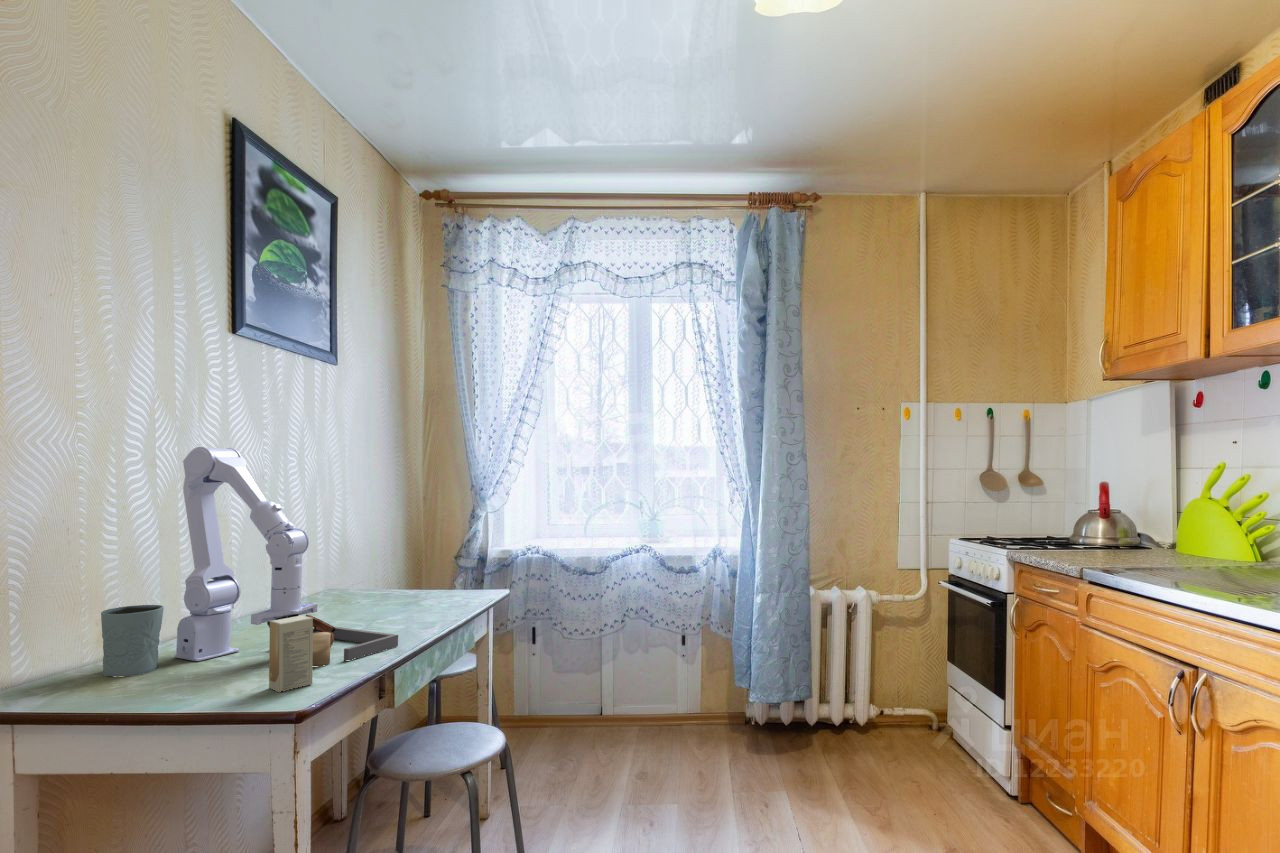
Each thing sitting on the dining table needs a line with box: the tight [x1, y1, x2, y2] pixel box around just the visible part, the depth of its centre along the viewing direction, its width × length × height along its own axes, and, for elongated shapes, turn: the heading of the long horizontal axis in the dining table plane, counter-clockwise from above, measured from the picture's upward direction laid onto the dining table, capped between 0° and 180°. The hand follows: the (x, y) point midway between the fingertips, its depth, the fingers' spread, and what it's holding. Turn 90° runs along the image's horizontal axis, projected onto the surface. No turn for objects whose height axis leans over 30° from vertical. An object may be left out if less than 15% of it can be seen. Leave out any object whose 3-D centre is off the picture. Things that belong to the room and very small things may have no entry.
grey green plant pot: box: [100, 604, 165, 677], centre depth 140 cm, size 10×10×12 cm
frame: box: [313, 626, 399, 661], centre depth 158 cm, size 14×22×2 cm, turn 65°
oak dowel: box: [313, 632, 331, 667], centre depth 145 cm, size 4×4×6 cm
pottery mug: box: [305, 614, 336, 648], centre depth 156 cm, size 12×10×8 cm
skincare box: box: [268, 614, 314, 693], centre depth 130 cm, size 6×4×12 cm
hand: (284, 653), depth 149 cm, fingers closed
